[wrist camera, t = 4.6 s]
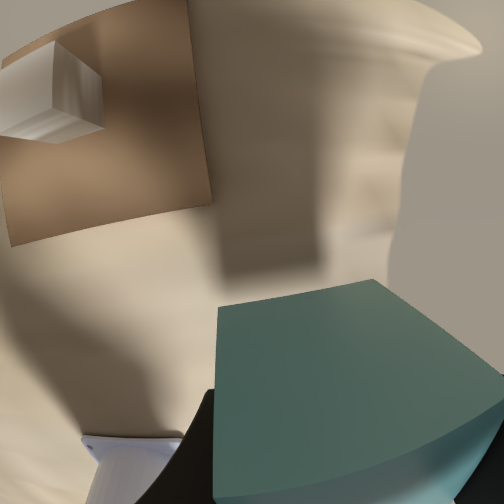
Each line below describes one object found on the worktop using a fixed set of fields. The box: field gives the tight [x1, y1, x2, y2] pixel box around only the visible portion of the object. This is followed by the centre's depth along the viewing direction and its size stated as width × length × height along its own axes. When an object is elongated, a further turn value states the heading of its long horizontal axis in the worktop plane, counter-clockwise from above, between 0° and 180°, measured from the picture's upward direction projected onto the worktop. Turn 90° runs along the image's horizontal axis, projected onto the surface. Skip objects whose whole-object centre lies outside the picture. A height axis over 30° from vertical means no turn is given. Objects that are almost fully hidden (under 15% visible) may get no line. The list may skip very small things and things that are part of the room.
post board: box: [0, 0, 213, 247], centre depth 9 cm, size 11×11×5 cm
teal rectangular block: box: [213, 279, 504, 504], centre depth 7 cm, size 5×5×7 cm
